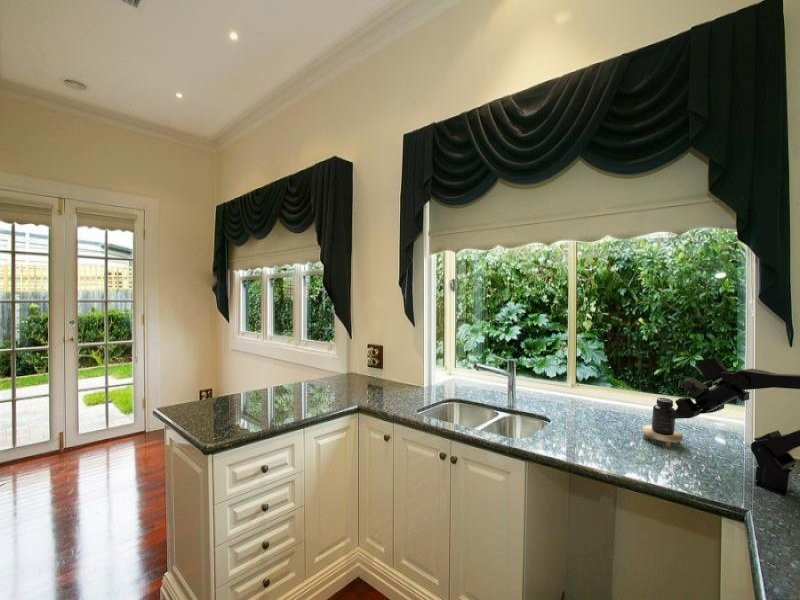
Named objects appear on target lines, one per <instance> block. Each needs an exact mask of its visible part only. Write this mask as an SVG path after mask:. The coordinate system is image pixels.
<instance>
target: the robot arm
mask: <svg viewBox="0 0 800 600" xmlns="http://www.w3.org/2000/svg"><path fill="white" fill-rule="evenodd" d="M694 367H695V369H697V371H698V373H700V375H702V376H703V378H704V379H705V380H706V381H707V382H709V383H710V382H712V383H713V385H712V386H710V387H708V386H706V385H705V384H704V383H702V382H701V381H700V380H698V379H696V378H695V377H692V376H691V377H685V379H683V380H682V381H681V382H680V383H681V385H680V386H681V387H682V388H683V389H685V390H686V391H687V392H689V393H691V397H692V399H694V401H693V400H692V399H691V398H690V397H687V396H685V397H681V398H677V399H676V400H675V404H676V406H677V407H676V408H675V411H674V412H673V413H672V415H671V418H672V419H675V420H676V419H677V420H679V419H680V420H681V419H693V418H695V417H698V416H700V415H701V414H711V413H712V414H713V413H716V412H720V411H722V410H724V409H725V405H726V404H728V403H729V402H731V401H732V400H735V399H736V398H738V399H739V400H740V401H741V402H744V401H745V402H746V401H750V394H751V392H750V391H751V390H762V389H773V388H777V389H789V390H790V389H792V390H800V374H795V373H794V374H791V373H789V374H788V373H775V372H770V371H768V370H762V369H758V368H746V369H741V370H738V369H737V370H736V369H732V370H728V368H727V367H726V366H725V365H724V364H723V363H722V361H721V360H720V358H719V357H718V356H716V355H715V356H712V357H710V358H707V359H705V360H703V361H700V362H698V363H697V364H695V366H694ZM715 383H716V384H715ZM748 390H749V391H748ZM753 440H755V441H753V442H751V443H750V452H751V453H752V454H753V456H754V457H755V460H756V464H757V466H756V469H755V478H754V480H755V482H754V484H755V485H756V486H758V487H762V488H763V489H766V490H769V491H771V492H774V493H777V494H780V495H783V496H786V495H788V494H789V493H791V491H792V490H793V487H792V485H791V484H792V477H793V468H794V467H795V466H796V465H797V464H798V461H797V460H796V458H794V456H793V455H792V454H791V453H792V452H793V451H795V450H796V449H797V448H799V447H800V429H798V430H796V431H793V432H790V433H785V434H781V432H780V431H779V430H775V431H772V432H768V433H766V434H763V435H760V436H758V437H755V438H753Z"/></svg>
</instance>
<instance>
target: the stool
mask: <svg viewBox="0 0 800 600" xmlns="http://www.w3.org/2000/svg"><path fill="white" fill-rule="evenodd" d="M641 430H642V434H643V436H642V439H643V440H644V441H649V438H650V439H654V440H657V441H661V442H664V448H666V449H671V448H672V447H671V446H672V443H675V444H678V445H679V444H681V442H682V441H683V438H684V436H683V433H681V432H680V431H678V430H676V429H674V434H673V435H662V434H658V433H656V432H654V431H653V430H652V424H645V425H643V426H642V429H641Z"/></svg>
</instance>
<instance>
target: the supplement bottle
mask: <svg viewBox="0 0 800 600" xmlns="http://www.w3.org/2000/svg"><path fill="white" fill-rule="evenodd" d="M655 403H656V404H655V405H653V406H652V415H651V425H652V430H653V431H654V432H656V433H658V434H662V435H673V434H674V430H676V428H675V426H676V419H672V418H671V415H672V413H673V412H674V411H675V410H676V408H674V401H673V399H670V398H668V397H657V399H656V402H655Z"/></svg>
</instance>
